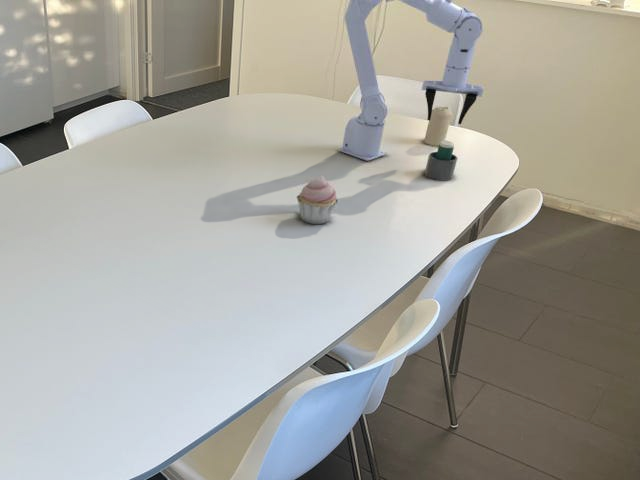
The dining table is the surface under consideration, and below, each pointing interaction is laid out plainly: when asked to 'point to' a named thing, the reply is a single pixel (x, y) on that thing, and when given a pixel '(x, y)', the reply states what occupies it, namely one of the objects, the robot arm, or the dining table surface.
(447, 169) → the cup
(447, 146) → the cylinder
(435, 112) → the candle
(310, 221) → the cupcake
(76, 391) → the dining table surface
